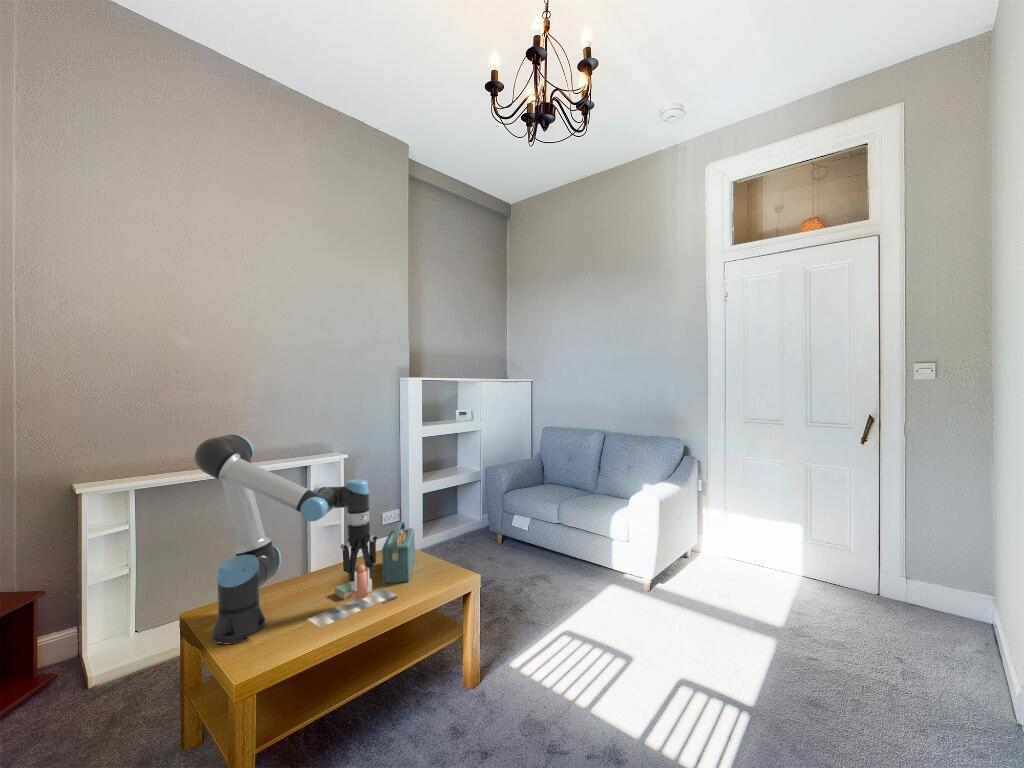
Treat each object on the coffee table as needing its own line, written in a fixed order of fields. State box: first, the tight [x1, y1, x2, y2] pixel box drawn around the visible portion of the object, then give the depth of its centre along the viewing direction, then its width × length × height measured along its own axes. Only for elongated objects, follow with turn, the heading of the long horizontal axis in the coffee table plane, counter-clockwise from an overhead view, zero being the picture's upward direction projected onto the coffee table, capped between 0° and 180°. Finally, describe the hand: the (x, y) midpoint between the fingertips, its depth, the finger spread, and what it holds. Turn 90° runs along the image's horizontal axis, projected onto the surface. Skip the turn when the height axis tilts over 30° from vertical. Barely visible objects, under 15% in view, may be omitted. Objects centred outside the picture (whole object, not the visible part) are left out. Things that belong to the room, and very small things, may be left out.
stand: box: [334, 581, 355, 601], centre depth 177 cm, size 7×7×4 cm
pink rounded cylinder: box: [354, 563, 369, 600], centre depth 169 cm, size 4×4×12 cm
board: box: [307, 588, 398, 628], centre depth 167 cm, size 30×9×1 cm, turn 139°
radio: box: [381, 521, 416, 585], centre depth 201 cm, size 26×11×20 cm, turn 6°
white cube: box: [367, 578, 373, 594], centre depth 182 cm, size 4×4×4 cm
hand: (360, 587), depth 169 cm, fingers closed on pink rounded cylinder, 4 cm apart
